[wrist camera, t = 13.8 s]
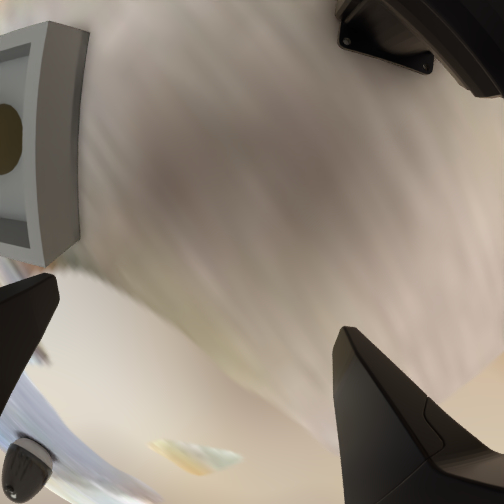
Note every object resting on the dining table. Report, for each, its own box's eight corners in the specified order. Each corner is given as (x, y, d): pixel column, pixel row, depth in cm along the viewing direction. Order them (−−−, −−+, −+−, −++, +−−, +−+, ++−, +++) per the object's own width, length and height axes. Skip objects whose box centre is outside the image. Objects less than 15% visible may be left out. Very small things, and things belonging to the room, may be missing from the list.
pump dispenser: (54, 448, 42) (26, 508, 28) (61, 466, 46) (39, 518, 32) (12, 423, 41) (-19, 478, 27) (23, 444, 45) (-2, 493, 31)
